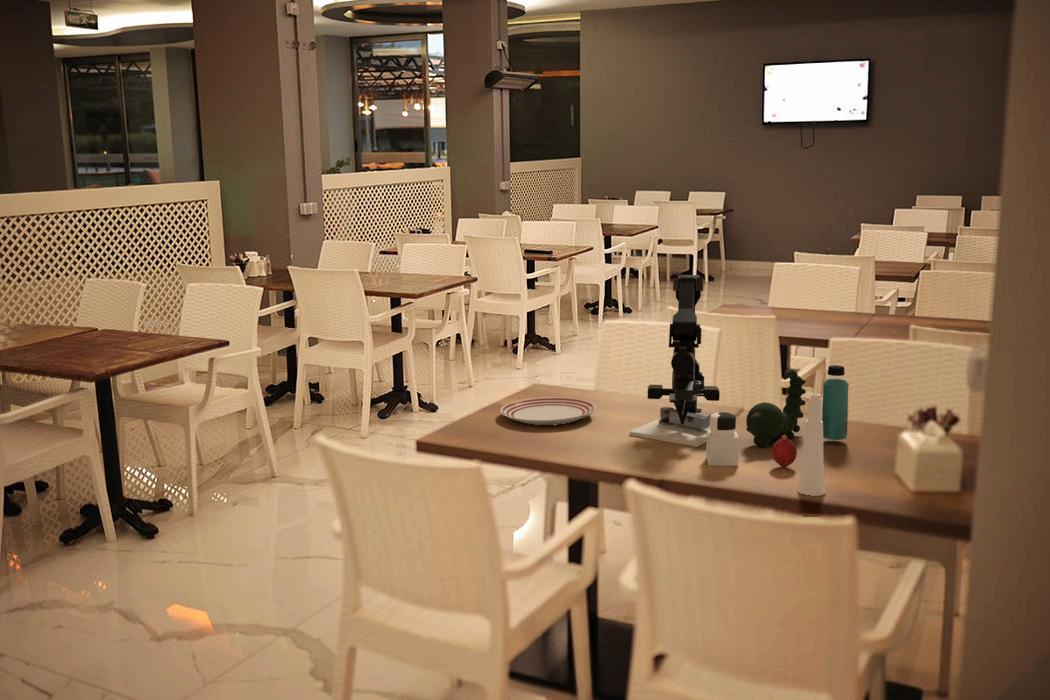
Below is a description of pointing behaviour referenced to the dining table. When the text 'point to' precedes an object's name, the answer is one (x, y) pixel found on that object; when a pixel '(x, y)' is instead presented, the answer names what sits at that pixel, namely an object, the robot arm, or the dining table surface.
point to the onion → (784, 452)
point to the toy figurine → (777, 414)
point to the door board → (673, 432)
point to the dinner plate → (548, 410)
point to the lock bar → (691, 419)
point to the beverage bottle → (835, 405)
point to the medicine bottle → (722, 440)
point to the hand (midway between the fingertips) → (682, 424)
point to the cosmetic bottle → (813, 451)
